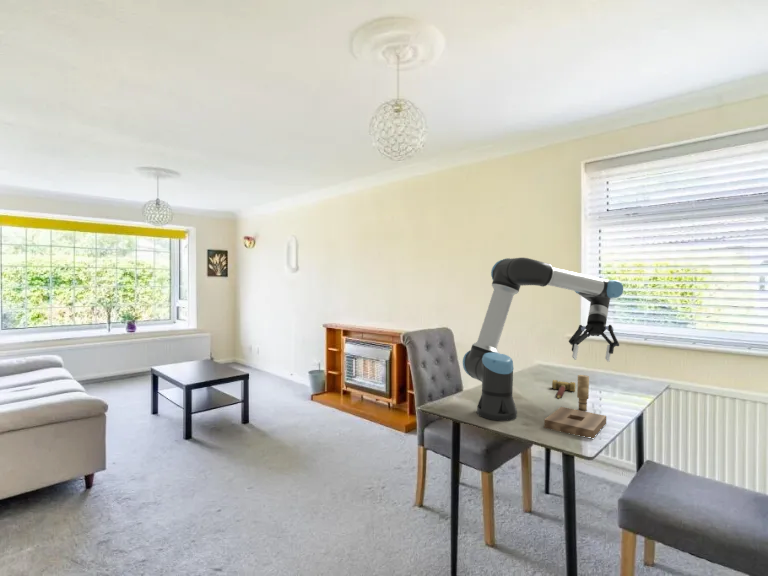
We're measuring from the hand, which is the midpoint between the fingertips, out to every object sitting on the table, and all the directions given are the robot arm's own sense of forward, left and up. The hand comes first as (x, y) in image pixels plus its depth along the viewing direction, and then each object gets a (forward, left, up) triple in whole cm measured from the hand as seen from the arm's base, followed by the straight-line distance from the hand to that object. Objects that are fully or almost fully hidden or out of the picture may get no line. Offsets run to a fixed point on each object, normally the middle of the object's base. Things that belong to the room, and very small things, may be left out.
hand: (590, 359), depth 172 cm
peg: (0, -10, -20) cm, 22 cm away
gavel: (-14, +10, -20) cm, 27 cm away
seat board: (+3, -32, -20) cm, 38 cm away
